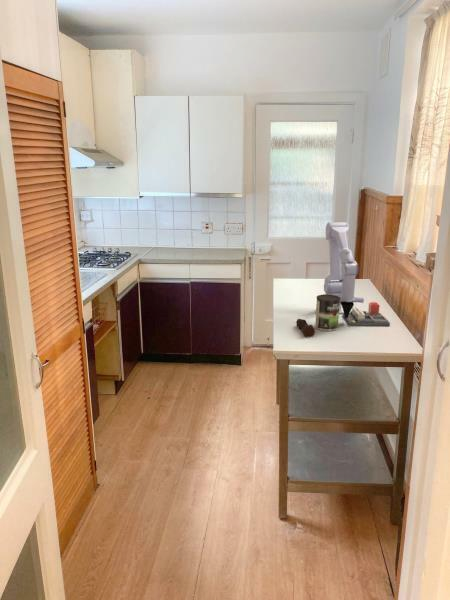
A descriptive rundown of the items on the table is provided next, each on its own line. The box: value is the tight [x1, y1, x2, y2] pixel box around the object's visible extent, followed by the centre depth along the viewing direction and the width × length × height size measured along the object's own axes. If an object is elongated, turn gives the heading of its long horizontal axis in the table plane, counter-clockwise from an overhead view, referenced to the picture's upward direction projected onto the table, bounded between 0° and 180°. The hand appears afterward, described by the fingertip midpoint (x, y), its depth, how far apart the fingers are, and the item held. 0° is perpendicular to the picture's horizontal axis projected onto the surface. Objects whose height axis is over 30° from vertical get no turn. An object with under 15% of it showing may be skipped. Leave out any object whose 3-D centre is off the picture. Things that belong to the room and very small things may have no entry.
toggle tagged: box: [355, 310, 365, 320], centre depth 222 cm, size 3×5×4 cm, turn 179°
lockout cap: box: [367, 301, 380, 313], centre depth 236 cm, size 4×4×6 cm
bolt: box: [295, 318, 316, 338], centre depth 212 cm, size 6×5×15 cm
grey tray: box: [342, 310, 391, 327], centre depth 225 cm, size 18×15×2 cm
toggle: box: [351, 305, 362, 315], centre depth 228 cm, size 3×5×4 cm, turn 179°
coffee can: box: [314, 293, 340, 332], centre depth 215 cm, size 10×10×14 cm
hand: (346, 317), depth 222 cm, fingers closed
